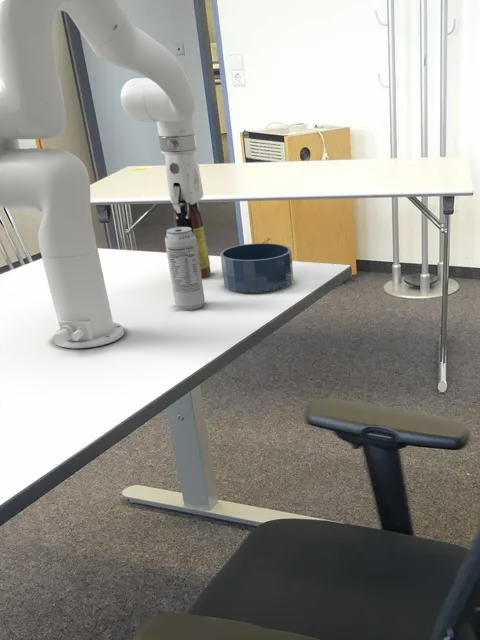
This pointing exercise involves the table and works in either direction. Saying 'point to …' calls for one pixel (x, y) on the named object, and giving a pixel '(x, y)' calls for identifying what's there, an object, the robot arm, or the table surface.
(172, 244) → the energy drink can
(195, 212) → the sauce bottle
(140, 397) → the table surface
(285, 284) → the navy blue bowl
